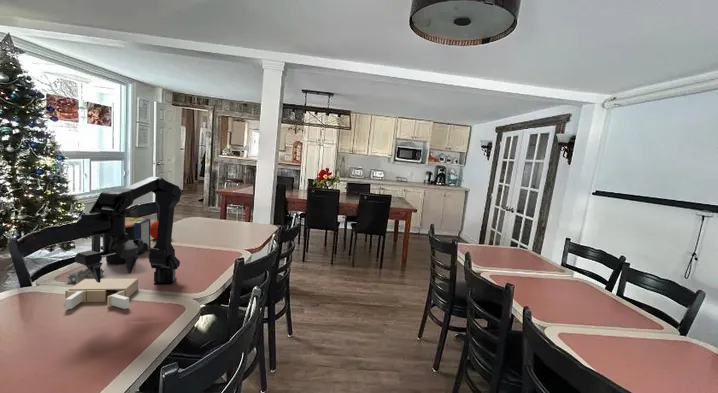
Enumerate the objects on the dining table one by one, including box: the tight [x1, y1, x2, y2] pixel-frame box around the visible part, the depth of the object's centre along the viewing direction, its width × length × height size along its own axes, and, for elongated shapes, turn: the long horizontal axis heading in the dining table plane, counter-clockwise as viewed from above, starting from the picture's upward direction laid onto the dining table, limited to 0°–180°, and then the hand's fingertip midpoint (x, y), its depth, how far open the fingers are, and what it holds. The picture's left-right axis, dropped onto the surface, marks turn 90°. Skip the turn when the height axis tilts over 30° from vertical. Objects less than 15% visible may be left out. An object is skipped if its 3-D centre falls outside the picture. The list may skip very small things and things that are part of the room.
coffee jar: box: [105, 221, 135, 266], centre depth 144 cm, size 11×11×18 cm
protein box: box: [125, 216, 152, 248], centre depth 162 cm, size 10×15×16 cm
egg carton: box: [65, 267, 106, 285], centre depth 124 cm, size 11×8×4 cm
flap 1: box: [64, 290, 87, 310], centre depth 103 cm, size 6×7×4 cm
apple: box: [150, 220, 158, 240], centre depth 184 cm, size 10×10×12 cm
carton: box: [67, 278, 139, 303], centre depth 112 cm, size 17×10×4 cm, turn 103°
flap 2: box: [106, 290, 130, 310], centre depth 106 cm, size 6×7×4 cm
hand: (114, 277), depth 102 cm, fingers open, 9 cm apart
